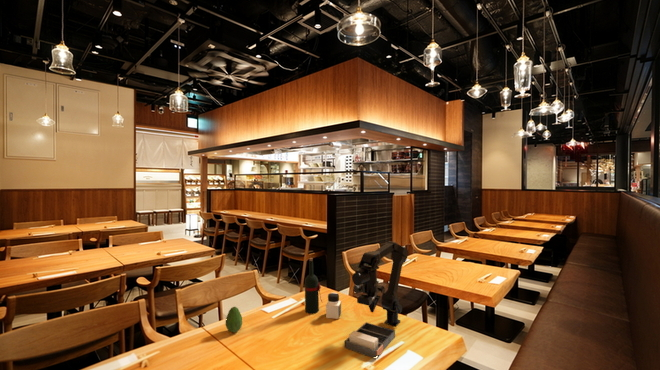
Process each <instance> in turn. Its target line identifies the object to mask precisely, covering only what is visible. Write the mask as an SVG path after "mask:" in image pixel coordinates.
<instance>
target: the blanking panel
mask: <svg viewBox="0 0 660 370" xmlns="http://www.w3.org/2000/svg"><path fill="white" fill-rule="evenodd" d="M356 331H357V330H352V331H351V332H350V334H349V336H348V337H349V342H352V343H355V344H357V345H360V346H363V347H366V348H369V349H372V350H376V349H377V348H378V338H375V337H372V336H369V335H366V334H363V333H360V332H356Z"/></svg>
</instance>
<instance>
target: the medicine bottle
mask: <svg viewBox="0 0 660 370" xmlns="http://www.w3.org/2000/svg"><path fill="white" fill-rule="evenodd" d="M341 314H342V301H341V300H340V295H339V293H337V292H330V293H328V294H327V302H326V305H325V316H326V317H325V318H326V319H336V320H339V319H340V317H341Z"/></svg>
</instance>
